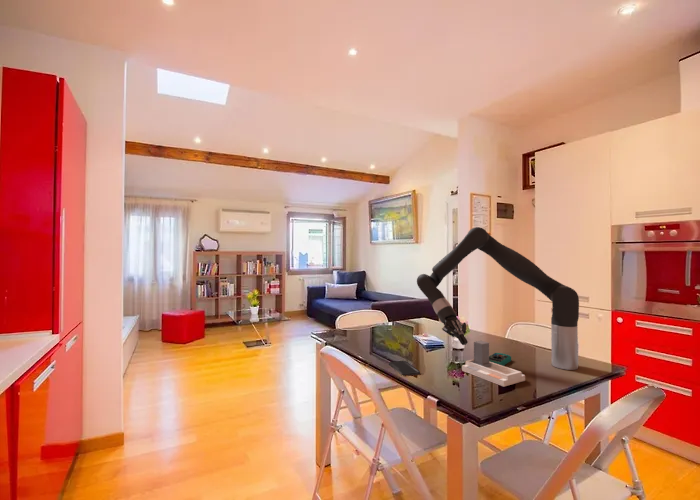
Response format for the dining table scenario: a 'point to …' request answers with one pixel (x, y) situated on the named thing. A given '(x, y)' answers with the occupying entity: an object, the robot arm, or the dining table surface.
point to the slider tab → (481, 353)
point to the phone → (404, 368)
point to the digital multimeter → (500, 358)
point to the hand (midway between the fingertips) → (465, 343)
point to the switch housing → (494, 373)
